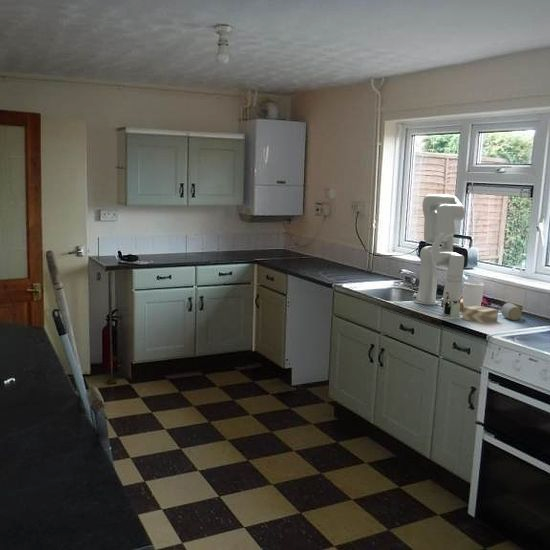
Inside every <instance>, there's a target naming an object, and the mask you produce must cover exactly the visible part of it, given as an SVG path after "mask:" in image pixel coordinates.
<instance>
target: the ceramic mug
mask: <svg viewBox="0 0 550 550" xmlns="http://www.w3.org/2000/svg"><path fill="white" fill-rule="evenodd" d="M500 312H501V315H502V316H503V317H505V318H506V319H508V320H511V321H518V320H519V319H521V320H522V321H524V320H525V319H526V317H525V316H524V315H522V310H521V308H520V307H519V306H517V305H515V304H513V303H512V302H507V303H504V304H503V306H502V307H501V309H500Z"/></svg>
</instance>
